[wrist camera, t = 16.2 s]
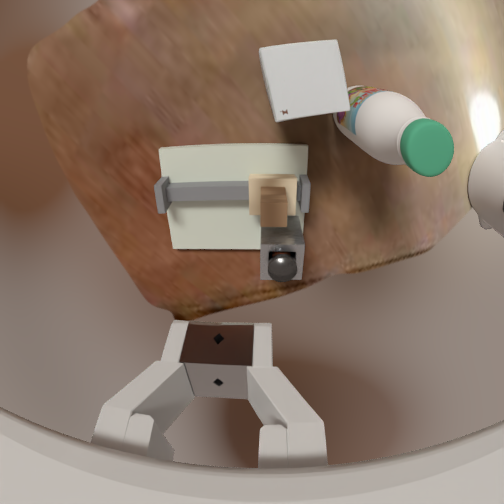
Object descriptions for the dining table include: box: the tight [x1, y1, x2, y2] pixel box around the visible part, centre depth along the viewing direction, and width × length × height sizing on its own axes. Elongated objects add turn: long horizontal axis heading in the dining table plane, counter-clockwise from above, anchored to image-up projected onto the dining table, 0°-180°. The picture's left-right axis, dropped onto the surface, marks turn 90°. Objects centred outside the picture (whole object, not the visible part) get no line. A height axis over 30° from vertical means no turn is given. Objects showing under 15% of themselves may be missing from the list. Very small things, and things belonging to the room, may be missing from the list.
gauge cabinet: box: [260, 216, 305, 280], centre depth 42 cm, size 5×6×9 cm
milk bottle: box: [333, 86, 454, 177], centre depth 27 cm, size 8×8×20 cm
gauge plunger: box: [268, 251, 297, 282], centre depth 40 cm, size 4×4×8 cm
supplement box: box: [259, 40, 350, 122], centre depth 28 cm, size 7×7×13 cm
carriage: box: [249, 174, 297, 227], centre depth 37 cm, size 6×5×8 cm
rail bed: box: [154, 143, 311, 249], centre depth 41 cm, size 20×16×5 cm
